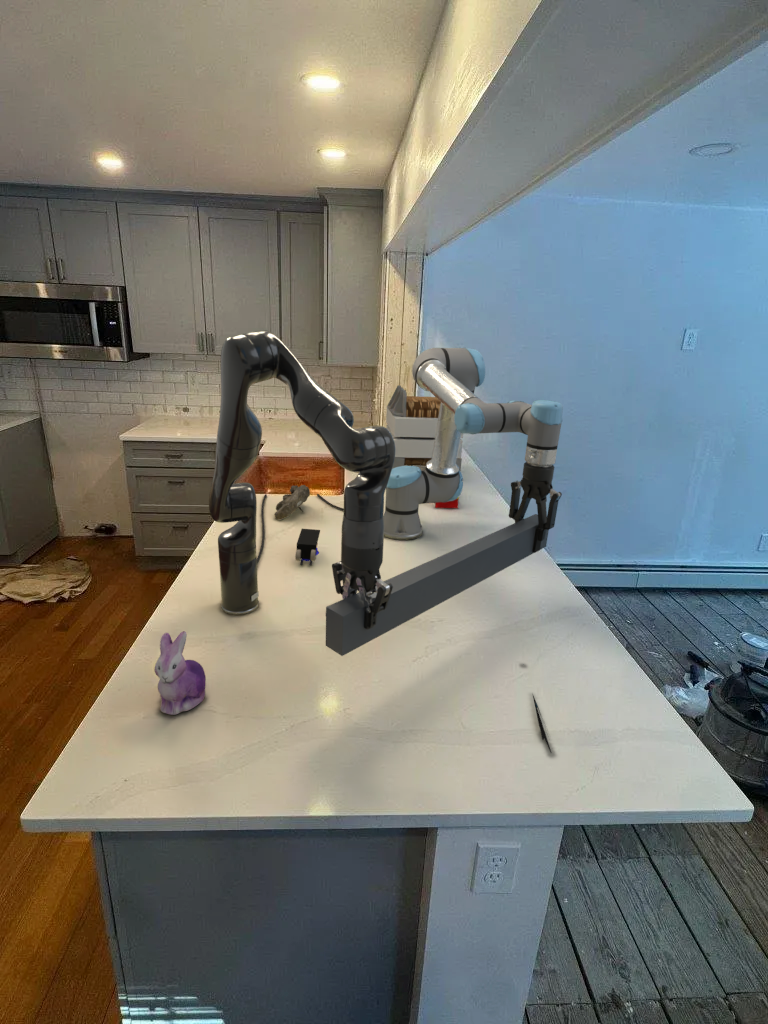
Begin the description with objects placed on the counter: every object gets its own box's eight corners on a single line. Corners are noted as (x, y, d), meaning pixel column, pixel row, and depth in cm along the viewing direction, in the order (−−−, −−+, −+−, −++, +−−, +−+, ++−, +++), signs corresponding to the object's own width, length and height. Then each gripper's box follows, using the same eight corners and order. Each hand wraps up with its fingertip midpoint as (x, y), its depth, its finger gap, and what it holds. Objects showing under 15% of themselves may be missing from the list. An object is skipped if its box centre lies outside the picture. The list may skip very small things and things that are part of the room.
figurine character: (316, 572, 171) (321, 547, 184) (316, 550, 168) (320, 527, 181) (294, 572, 171) (300, 547, 184) (293, 550, 167) (299, 526, 181)
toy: (452, 466, 252) (464, 476, 223) (451, 496, 255) (462, 509, 226) (425, 465, 252) (433, 475, 222) (424, 495, 254) (431, 508, 225)
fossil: (279, 491, 226) (308, 470, 221) (295, 509, 228) (323, 489, 223) (264, 515, 206) (294, 493, 201) (281, 534, 209) (312, 514, 204)
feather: (523, 669, 129) (529, 663, 128) (551, 758, 102) (558, 750, 101) (517, 665, 128) (523, 659, 128) (543, 753, 102) (550, 746, 101)
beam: (531, 541, 157) (535, 513, 154) (546, 546, 154) (550, 518, 151) (325, 645, 105) (325, 606, 102) (342, 656, 102) (343, 616, 99)
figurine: (161, 723, 106) (153, 655, 100) (154, 691, 114) (147, 626, 109) (213, 709, 110) (208, 643, 105) (202, 680, 118) (198, 616, 113)
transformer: (382, 463, 289) (386, 382, 275) (445, 464, 293) (451, 384, 279) (390, 482, 257) (394, 392, 243) (460, 483, 261) (468, 394, 247)
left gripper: (320, 532, 103) (319, 614, 109) (376, 557, 94) (372, 645, 100) (350, 522, 108) (348, 601, 114) (406, 545, 99) (401, 630, 105)
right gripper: (501, 458, 146) (491, 541, 154) (565, 473, 135) (550, 562, 143) (516, 453, 151) (506, 534, 159) (579, 468, 140) (564, 554, 148)
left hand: (359, 621), depth 107 cm, fingers closed on beam, 4 cm apart
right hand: (527, 547), depth 151 cm, fingers closed on beam, 5 cm apart
